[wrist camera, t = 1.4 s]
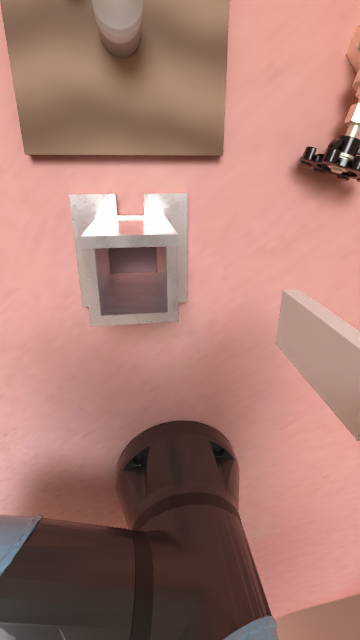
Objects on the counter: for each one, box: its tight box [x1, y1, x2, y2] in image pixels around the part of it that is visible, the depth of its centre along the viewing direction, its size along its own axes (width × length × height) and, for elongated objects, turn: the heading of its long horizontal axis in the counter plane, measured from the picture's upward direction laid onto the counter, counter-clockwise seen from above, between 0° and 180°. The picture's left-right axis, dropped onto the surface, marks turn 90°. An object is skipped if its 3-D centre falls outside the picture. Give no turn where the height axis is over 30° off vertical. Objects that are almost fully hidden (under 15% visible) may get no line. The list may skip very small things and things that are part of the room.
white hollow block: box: [69, 193, 188, 327], centre depth 27 cm, size 10×10×11 cm
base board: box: [0, 0, 229, 156], centre depth 23 cm, size 16×16×8 cm
